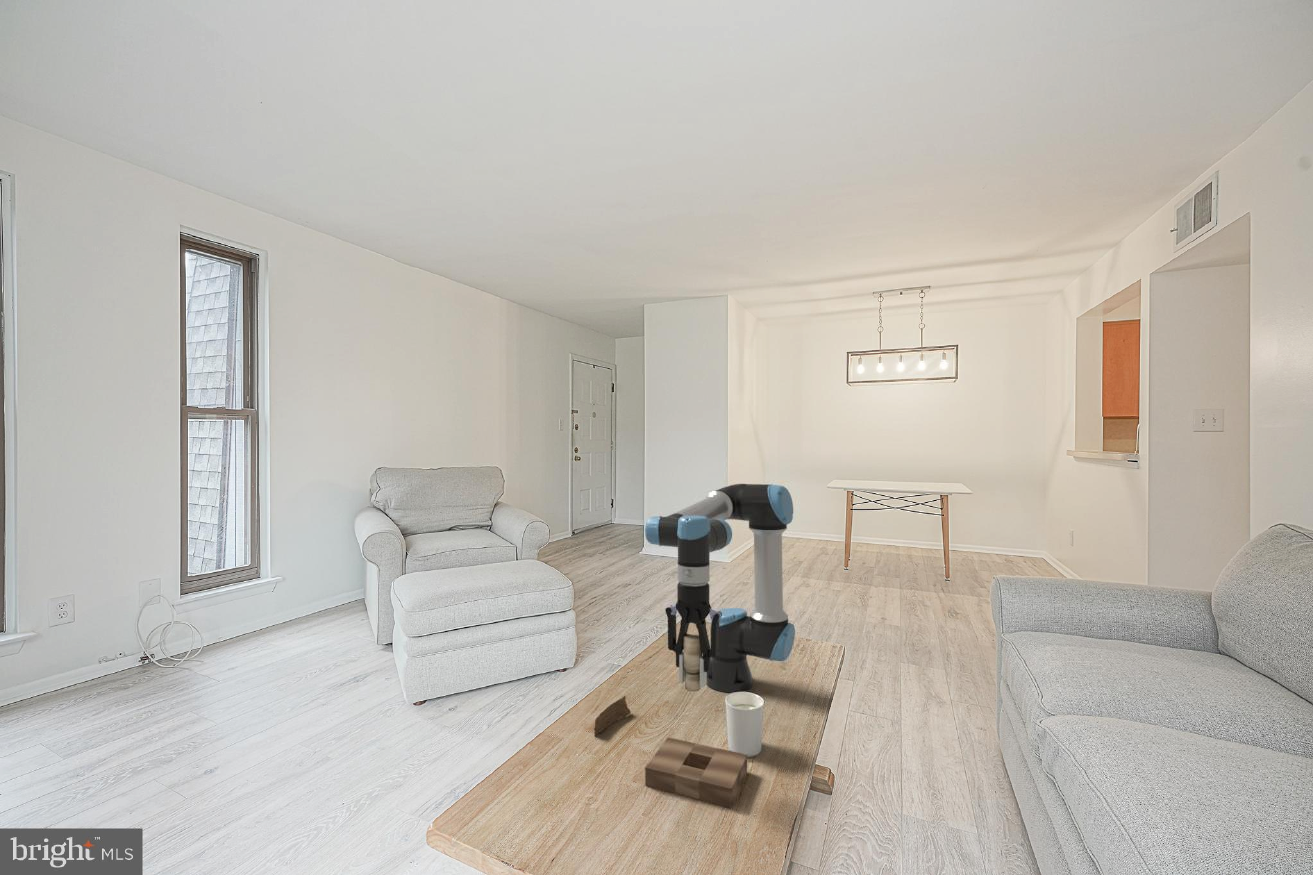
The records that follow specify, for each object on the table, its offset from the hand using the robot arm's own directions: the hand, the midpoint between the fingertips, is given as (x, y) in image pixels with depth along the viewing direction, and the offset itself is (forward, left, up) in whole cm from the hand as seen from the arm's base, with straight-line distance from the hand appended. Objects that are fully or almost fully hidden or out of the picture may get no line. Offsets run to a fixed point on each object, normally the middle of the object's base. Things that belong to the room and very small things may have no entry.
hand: (692, 682), depth 128 cm
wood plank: (-13, -28, -22) cm, 38 cm away
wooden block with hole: (+1, +1, -21) cm, 21 cm away
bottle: (0, 0, -1) cm, 1 cm away
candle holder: (-16, +8, -21) cm, 28 cm away
